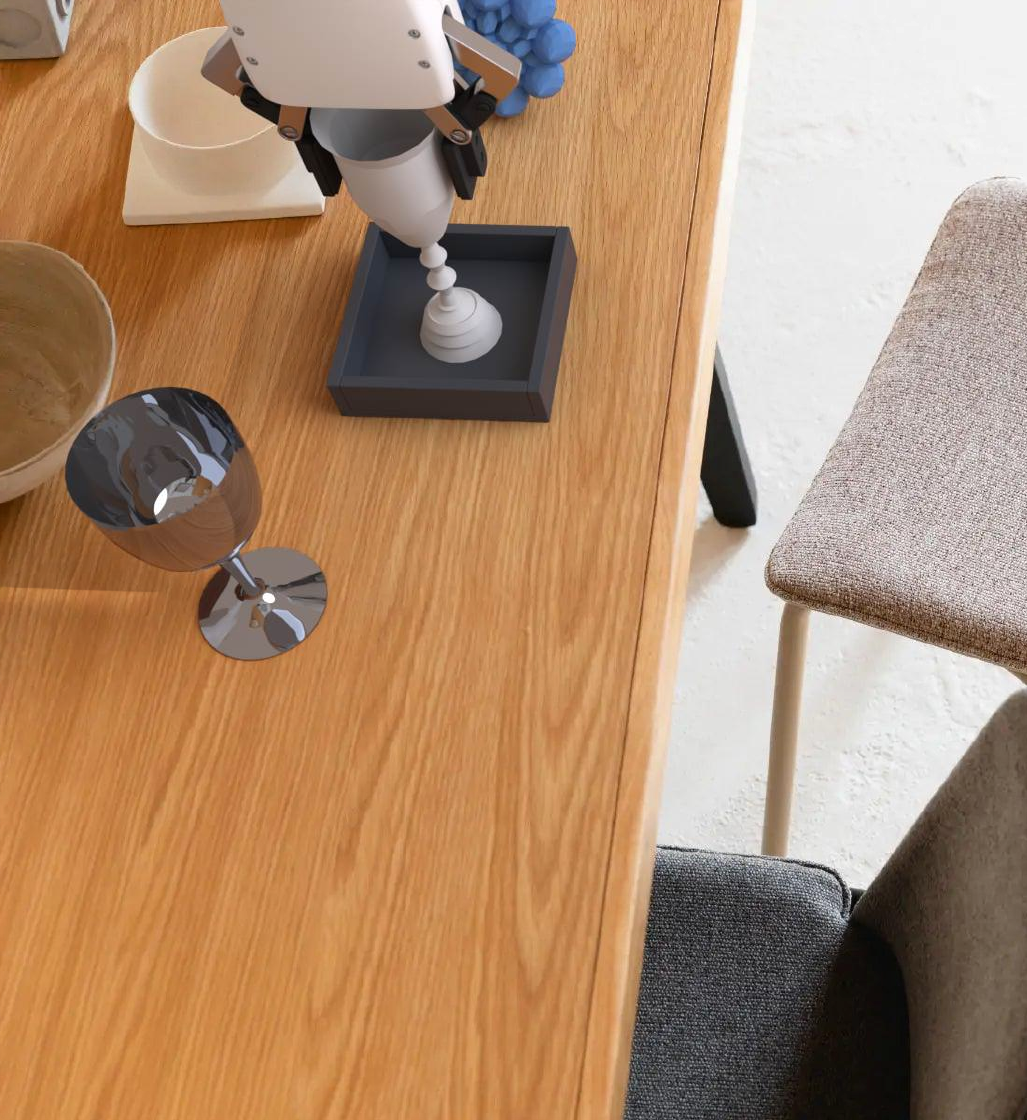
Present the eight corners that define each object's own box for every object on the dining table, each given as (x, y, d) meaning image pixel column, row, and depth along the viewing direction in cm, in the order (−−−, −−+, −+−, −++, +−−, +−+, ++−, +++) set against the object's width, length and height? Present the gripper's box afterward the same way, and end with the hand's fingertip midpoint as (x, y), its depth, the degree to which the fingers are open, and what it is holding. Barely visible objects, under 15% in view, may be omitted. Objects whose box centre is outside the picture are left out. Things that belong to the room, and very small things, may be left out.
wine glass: (267, 692, 81) (151, 556, 68) (160, 624, 83) (27, 479, 70) (364, 581, 84) (271, 431, 71) (258, 518, 86) (149, 361, 73)
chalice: (520, 369, 90) (446, 152, 75) (407, 385, 90) (308, 170, 74) (513, 276, 94) (441, 50, 78) (404, 291, 93) (310, 67, 78)
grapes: (601, 70, 104) (571, -79, 93) (587, 142, 100) (555, -5, 90) (434, 66, 104) (386, -83, 94) (416, 137, 101) (364, -9, 90)
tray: (341, 416, 90) (324, 385, 87) (382, 254, 96) (368, 220, 93) (549, 422, 89) (539, 392, 86) (578, 259, 95) (569, 225, 93)
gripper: (502, -166, 67) (572, 131, 82) (120, -171, 67) (261, 125, 83) (474, -52, 63) (553, 236, 78) (70, -59, 64) (228, 228, 79)
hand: (402, 177), depth 80 cm, fingers closed on chalice, 6 cm apart
